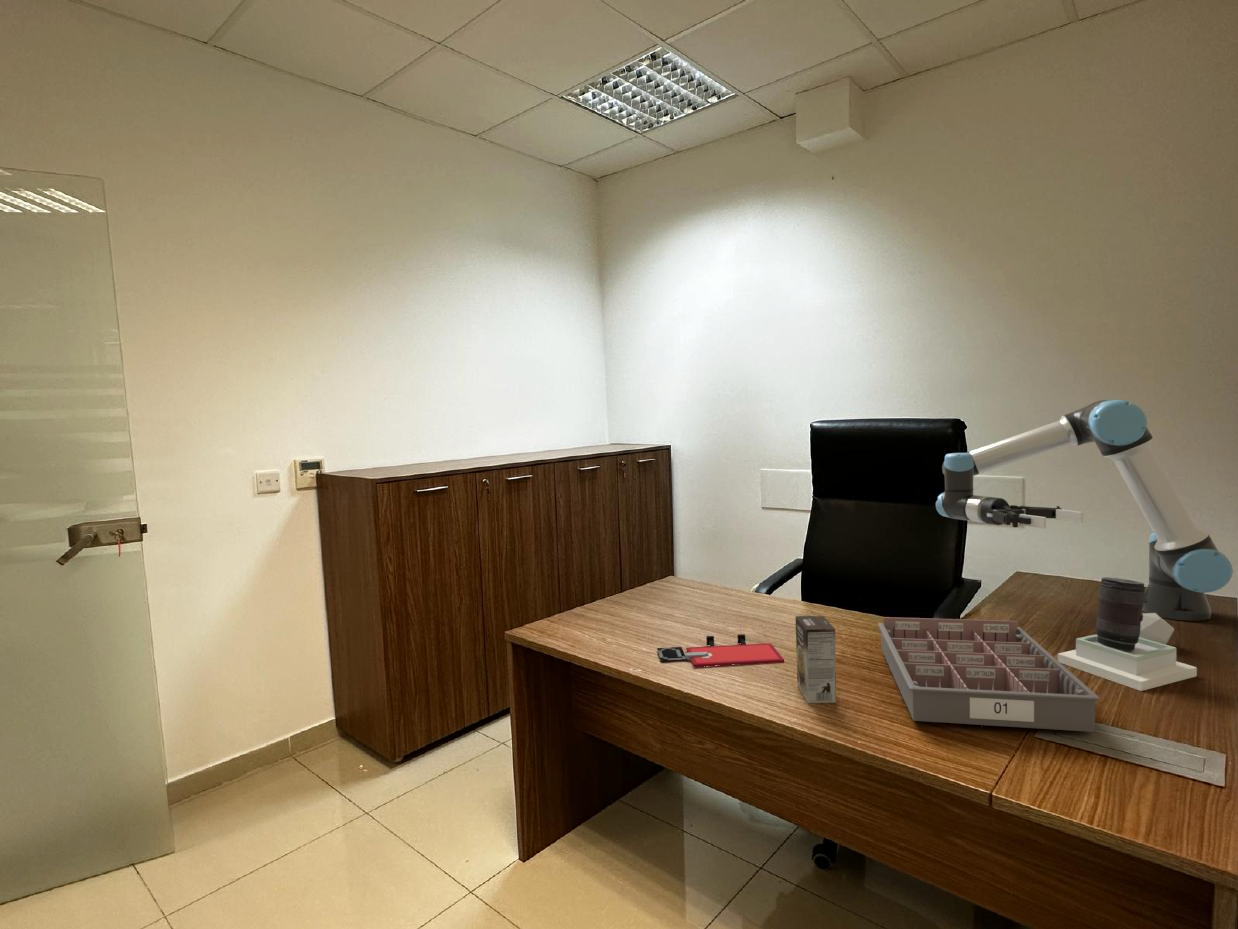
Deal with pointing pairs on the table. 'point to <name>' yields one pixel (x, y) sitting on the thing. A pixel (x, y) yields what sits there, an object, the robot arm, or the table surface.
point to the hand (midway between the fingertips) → (1064, 520)
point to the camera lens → (1120, 613)
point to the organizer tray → (983, 675)
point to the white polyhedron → (1155, 628)
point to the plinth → (1128, 677)
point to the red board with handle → (723, 653)
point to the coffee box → (816, 659)
